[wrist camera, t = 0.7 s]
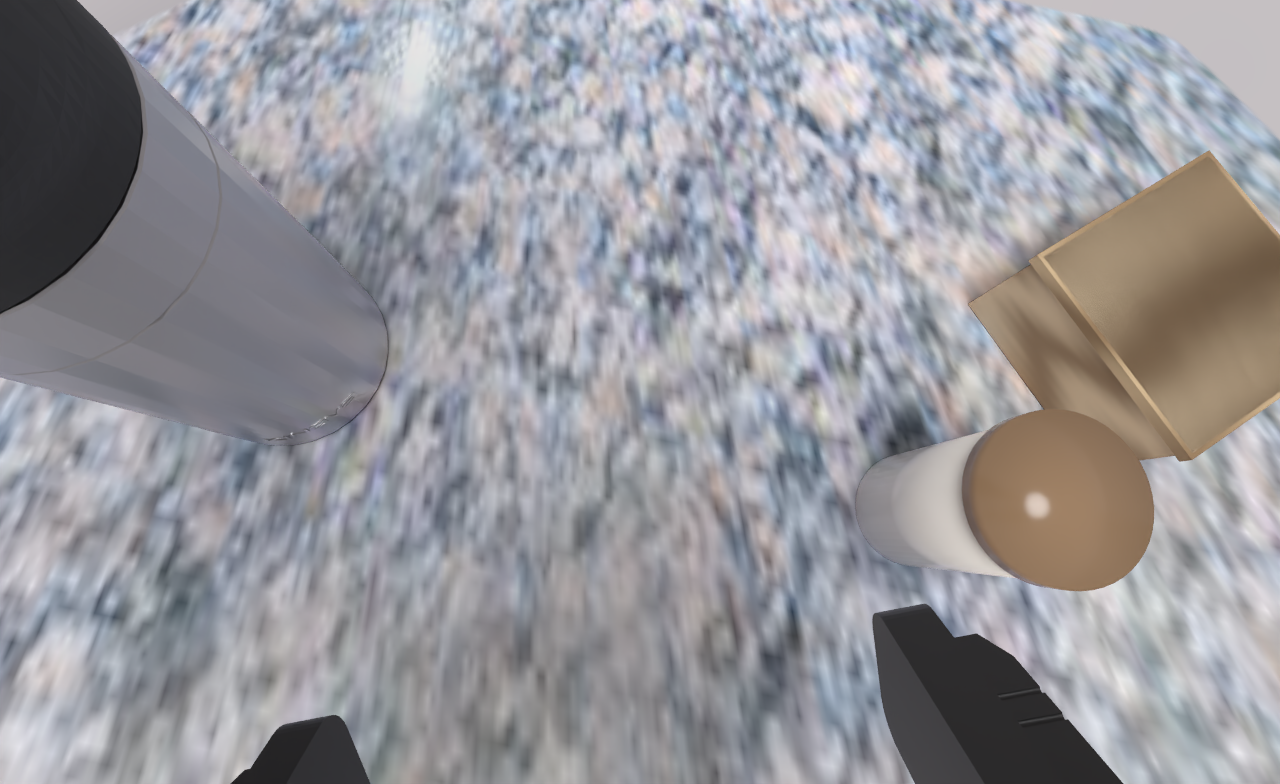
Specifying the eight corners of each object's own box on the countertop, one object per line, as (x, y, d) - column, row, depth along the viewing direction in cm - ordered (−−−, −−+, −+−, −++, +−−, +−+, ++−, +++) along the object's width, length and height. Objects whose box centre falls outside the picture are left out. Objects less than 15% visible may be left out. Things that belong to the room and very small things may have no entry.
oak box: (962, 302, 34) (1037, 255, 28) (1109, 213, 36) (1208, 150, 30) (1085, 472, 32) (1192, 459, 26) (1234, 371, 34) (1365, 337, 28)
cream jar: (828, 488, 32) (942, 466, 21) (921, 428, 32) (1078, 377, 22) (896, 594, 31) (1053, 627, 20) (991, 529, 31) (1190, 528, 21)
